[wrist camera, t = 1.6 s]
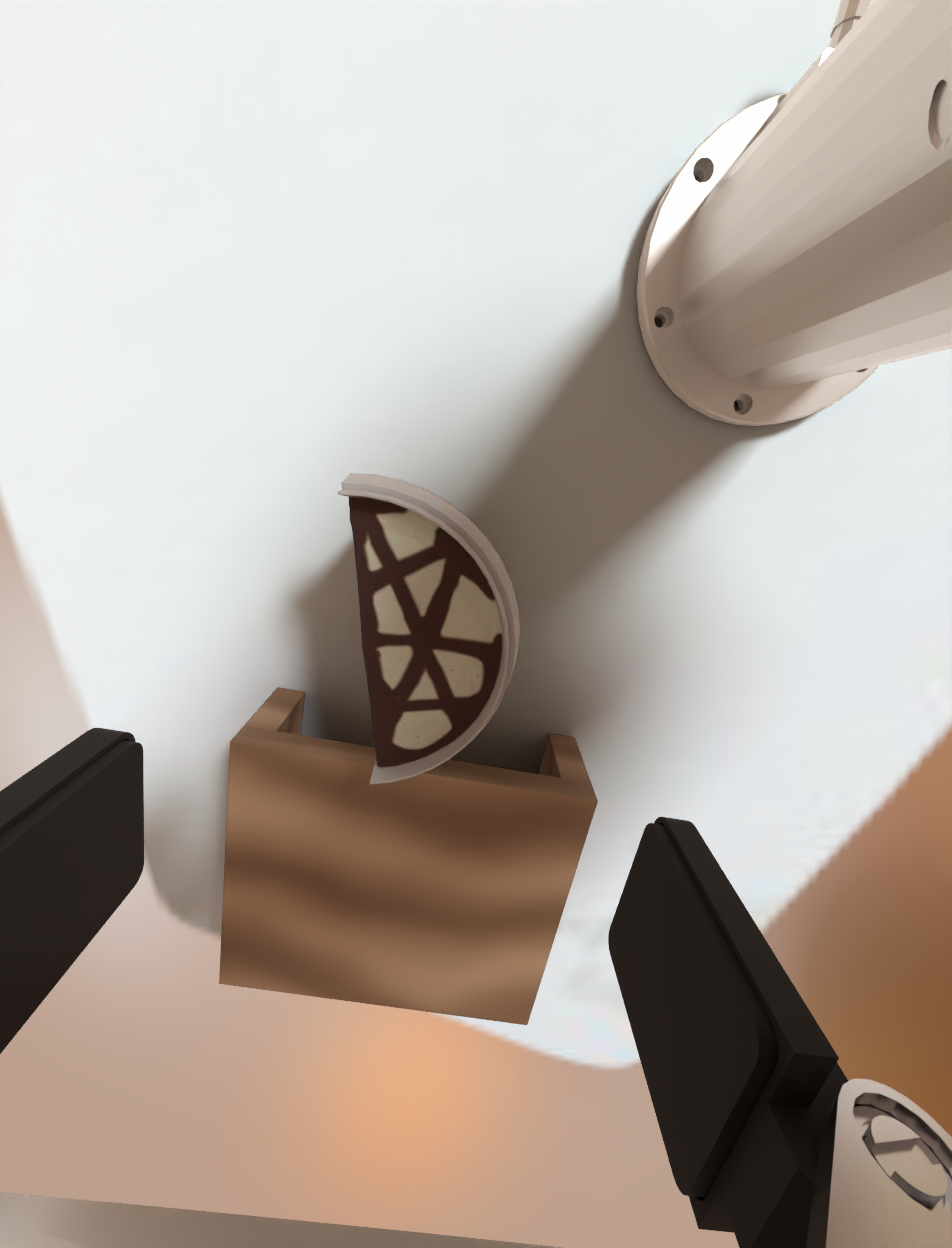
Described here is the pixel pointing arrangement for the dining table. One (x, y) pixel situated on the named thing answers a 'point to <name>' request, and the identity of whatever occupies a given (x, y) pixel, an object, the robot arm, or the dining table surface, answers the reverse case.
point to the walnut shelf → (395, 871)
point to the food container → (428, 623)
